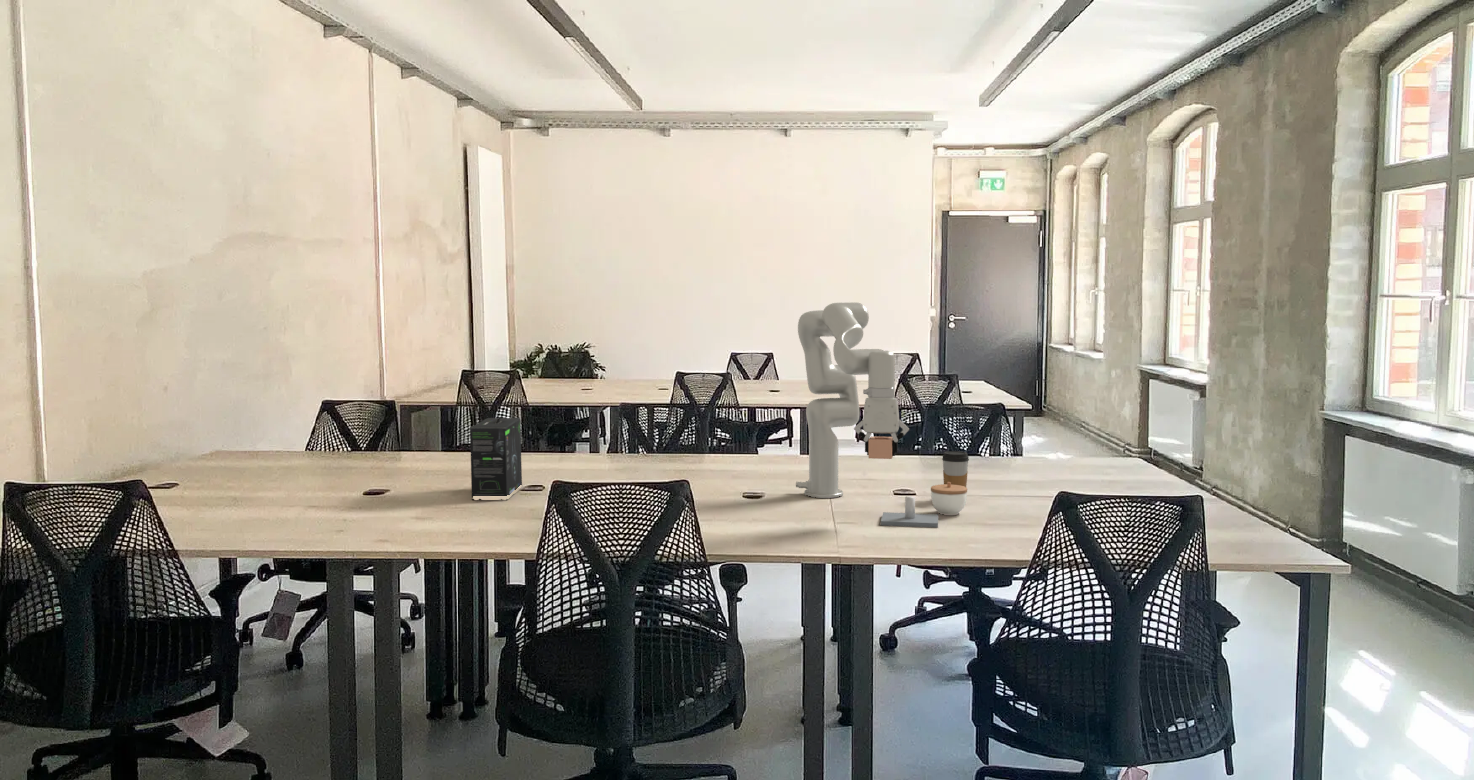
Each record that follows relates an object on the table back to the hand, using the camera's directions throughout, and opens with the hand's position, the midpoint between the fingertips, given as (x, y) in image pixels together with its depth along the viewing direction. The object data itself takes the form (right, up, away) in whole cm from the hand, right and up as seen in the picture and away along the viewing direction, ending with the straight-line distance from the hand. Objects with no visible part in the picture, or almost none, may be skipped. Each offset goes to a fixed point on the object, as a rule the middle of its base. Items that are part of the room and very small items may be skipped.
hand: (881, 454), depth 306 cm
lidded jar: (+22, -18, +10) cm, 30 cm away
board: (+8, -19, -1) cm, 21 cm away
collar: (0, -1, 0) cm, 1 cm away
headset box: (-121, -16, +43) cm, 129 cm away
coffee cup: (+28, -16, +31) cm, 44 cm away
